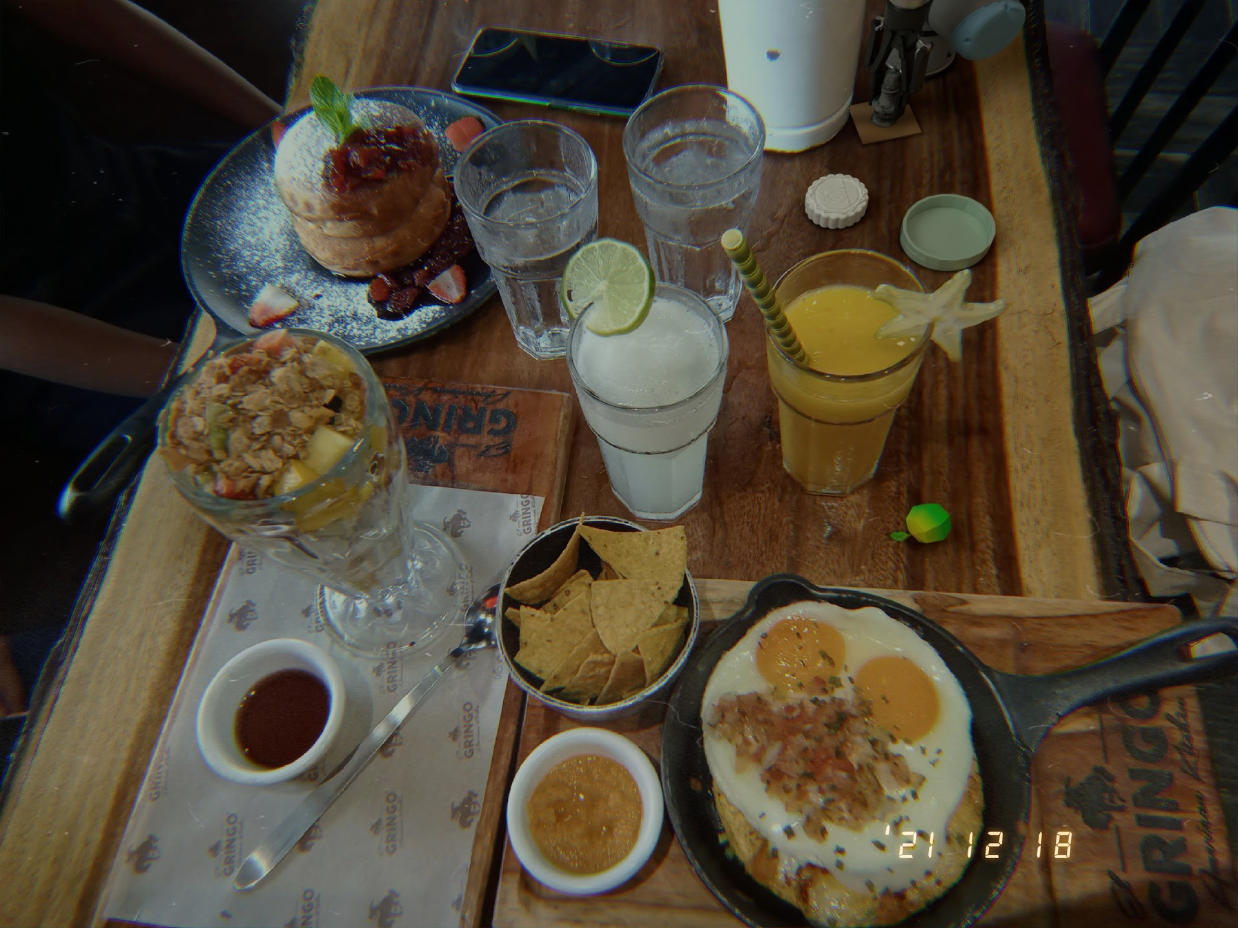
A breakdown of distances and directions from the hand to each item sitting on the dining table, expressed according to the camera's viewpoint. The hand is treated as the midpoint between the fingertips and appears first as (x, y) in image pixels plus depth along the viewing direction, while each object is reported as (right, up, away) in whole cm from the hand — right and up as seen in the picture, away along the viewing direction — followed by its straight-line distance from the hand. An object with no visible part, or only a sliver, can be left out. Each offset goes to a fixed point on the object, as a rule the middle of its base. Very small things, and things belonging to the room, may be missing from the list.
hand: (885, 109), depth 152 cm
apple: (-9, -85, -37) cm, 93 cm away
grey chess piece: (0, -1, +2) cm, 2 cm away
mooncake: (-12, -23, -6) cm, 26 cm away
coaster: (0, -1, +2) cm, 3 cm away
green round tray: (+6, -31, -13) cm, 34 cm away
